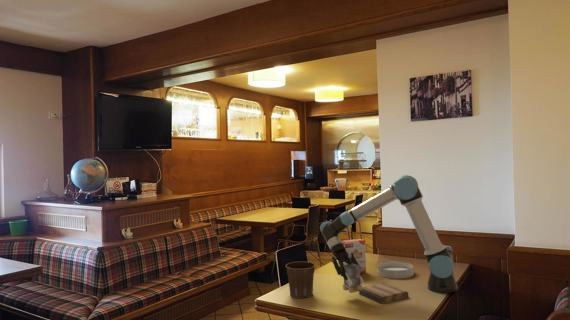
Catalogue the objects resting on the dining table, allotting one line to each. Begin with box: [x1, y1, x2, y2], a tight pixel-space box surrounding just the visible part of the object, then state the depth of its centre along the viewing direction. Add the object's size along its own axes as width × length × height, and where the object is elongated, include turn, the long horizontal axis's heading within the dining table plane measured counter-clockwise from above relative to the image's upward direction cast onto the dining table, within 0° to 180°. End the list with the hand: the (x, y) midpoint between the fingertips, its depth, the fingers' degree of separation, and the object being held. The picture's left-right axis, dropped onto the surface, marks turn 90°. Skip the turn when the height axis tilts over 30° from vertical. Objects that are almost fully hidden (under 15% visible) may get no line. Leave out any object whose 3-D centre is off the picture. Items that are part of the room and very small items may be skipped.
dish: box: [376, 261, 415, 279], centre depth 248 cm, size 22×22×5 cm
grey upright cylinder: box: [342, 263, 363, 294], centre depth 205 cm, size 7×7×13 cm
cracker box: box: [341, 238, 367, 274], centre depth 253 cm, size 14×6×21 cm, turn 105°
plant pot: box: [285, 261, 316, 299], centre depth 216 cm, size 16×16×16 cm
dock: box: [358, 282, 409, 304], centre depth 209 cm, size 18×18×3 cm
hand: (356, 284), depth 202 cm, fingers closed on grey upright cylinder, 6 cm apart
